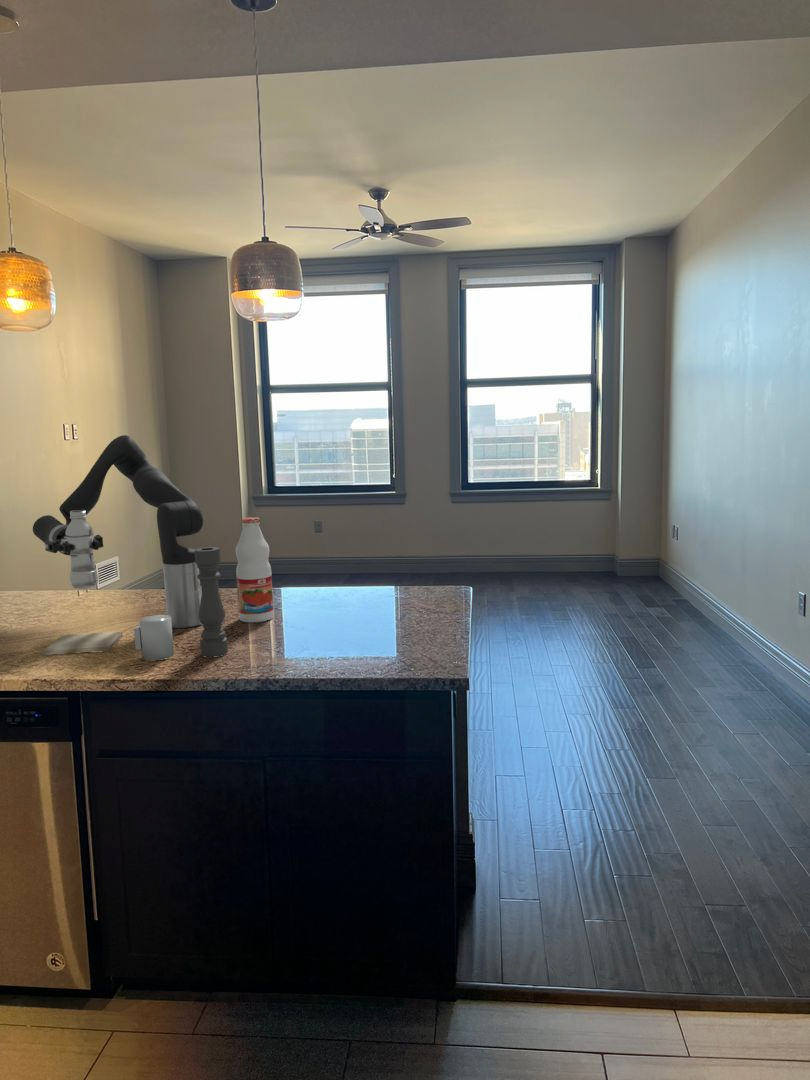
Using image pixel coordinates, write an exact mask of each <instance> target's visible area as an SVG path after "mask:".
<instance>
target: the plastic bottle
mask: <svg viewBox="0 0 810 1080" xmlns="http://www.w3.org/2000/svg"><path fill="white" fill-rule="evenodd" d="M86 518H88V515H86V510H75V511H70V519H71V522H70V524H69V525H68V527H67V529H66V532H65V533H66V538H67V542H68V544H70V549H71V553H70V555H69V556H70V573H69V581H70V585H71V586H72V587H73V589H78V590H88V589H91V588H95V587H96V586H97V585H98V584H99V582H98V581H99V576H98V575H99V574H98V572H97V569H96V565H95V559H94V549H93V538H94V529H93V527H92V525H91V524H90V523H89V522H88V521H87V520H86Z"/></svg>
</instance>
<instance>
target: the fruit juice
mask: <svg viewBox="0 0 810 1080" xmlns="http://www.w3.org/2000/svg"><path fill="white" fill-rule="evenodd" d="M240 523H241V525H242V529H241V530H242V531H241V532H240V533H241V534H240V537H239V540H238V542H237V544H236V546H235V555H236V560H237V565H236V573H235V574H236V590H237V603H238V605H237V606H238V617H239V620H240V621H241V622H243V623H248V624H249V623H251V624H252V623H254V622H255V623H262V622H267V620H268V621H270V620H272V619H273V618H274V613H275V612H274V597H273V580H272V567H271V563H270V562H269V556H270V545H269V544H268V542H267V540H266V539H265V537H264V534H263V532H262V530H261V527H260V523H261V518H260V517H257V516H251V517H243V518H241V522H240Z"/></svg>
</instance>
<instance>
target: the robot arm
mask: <svg viewBox="0 0 810 1080" xmlns="http://www.w3.org/2000/svg"><path fill="white" fill-rule="evenodd" d="M113 465H114V467H115V469H117V471H119V472H120V473H121V474H122V475H123V476H125V477H126V478H127V479H129V480H130V481H131V482H132V487H133V489H134V490H135V493H137V495H138V496H139V497H140V499H142V500H143V501H144V502H145V503H146V504H147V505H149V506H151V507H153V508H157V510H156V524H157V531H158V532H157V533H158V538H159V547H160V553H161V558H162V559H161V560H162V569H163V585H164V595H165V596H164V598H165V606H166V607H165V608H166V609H165V610H166V615H167V616H170V617H171V623H172V629H173V628H175V629H178V628H180V629H182V628H183V629H185V628H190V627H195V626H203V624H202V623H201V622H200V620H199V616H198V614H199V608H200V602H201V596H202V588H201V581H200V579H198V575H199V574H200V571H199V569H198V568H197V564H196V561H195V548H192V547H187V546H183V545H181V544H179V543H178V539H177V538H178V537H187V536H192V535H196V534H198V533H199V532H200V531H201V530H202V529H203V525H204V518H203V517H204V516H203V513H202V511H201V509H200V507H199V506H198V505H197V503H196V502H195V501H194V500H192V499H191V498H190V497H189V496H187V495H186V494H184V493H183V491H181V490H180V489H179V488H178V487H177V486H175V484H174V483H173V482H171V480H170V479H169V478H168V476H167V475H166V474H165V473H164V472H163V471H161V469H159V468H157V467H155V466H153V465H152V463H151V462H150V460H149V458H148V457H147V455H146V454H145V452H144V451H143V450H142V449H141V447H140V446H139V445H138V444H137V443H136V441H135V440H134V439H133V438H132V437H131V436H130V435H126V434H125V435H124V434H123V435H120V436H117V437H115V438H114V439H112V441H110V443H108V444H107V445H106V447H105V448H104V449H103V451H102V453H100V454H99V456H98V458H97V459H96V461H95V462H94V464H93V465H92V467H91V469H90V470H89V471H88V473H87V474H86V475H85V477H84V479H83V480H82V481H81V482H80V484H79V485H78V486H77V487H76V489H74V491H72V493H70V495H69V496H68V497H67V498H66V499H65V500H64V501H63V502H62V503H61V504H60V506H59V510H58V511H59V512H60V513H61V515H62V516H63V518H64V520H65V524H64V523H62V522H61V521H59V520H58V519H57V518H56V517H54V516H52V515H50V514H47V515H42V516H40V517H39V518H38V519H36V520H35V521H34V522H33V523H34V524H33V525H32V533H33V534H34V536H35V537H37V538H38V539H39V540H40V541H41V542H43V544H44V548H45V549H44V550H45V552H49V553H53V554H57V553H58V552H59V553H60V554H63V555H64V556H70V553H71V549H70V544H68V542H67V538H66V533H65V532H66V529H67V527H68V525H69V524H70V522H71V519H70V511H75V510H86V516H88V514H89V513H90V512H91V510H92V509H94V508H95V507H96V505H97V503H98V501H99V500H100V497H101V495H102V494H101V493H102V490H103V486H104V482H105V479H106V476H107V474H108V472H109V470H110V469H111V468H112V466H113ZM103 539H104V537H103V536H102V535H100V534H96V535H93V551H98V550H99V549H100V548H103V547H104V540H103Z"/></svg>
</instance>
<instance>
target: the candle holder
mask: <svg viewBox="0 0 810 1080" xmlns="http://www.w3.org/2000/svg"><path fill="white" fill-rule="evenodd" d="M194 549H195V548H194ZM220 549H221V548H220V547H217V546H207V547H205V546H204V547H198V548H196V549H195V561H196V564H197V568H198V569H199V575H198V579H200V586H201V588H202V596H201V602H200V608H199V614H198V616H199V620H200V622H201V623H202V628H204V629H203V630H202V631H201V634H200V638H201V639H200V641H199V645H200V655H202V656H201V657H203V656H206V657H205V658H207V657H214V656H220V657H222V656H221V655H224V654H226V653H227V652H228V653H229V649H228V638H227V637H226V631H225V630H224V629H223V627H222V626H223V622H224V621H225V619H226V611H225V608H224V605H223V601H222V599H221V596H220V592H219V591H220V590H219V580H220V579H219V578H221V573H220V572H219V571H218V570H219V567H220V566H221V564H220V563H221V550H220ZM228 653H227V654H228ZM227 654H226V655H227ZM224 656H225V655H224ZM214 658H215V657H214Z"/></svg>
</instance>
